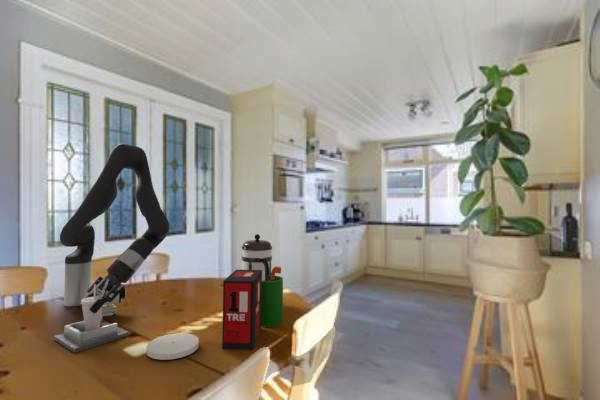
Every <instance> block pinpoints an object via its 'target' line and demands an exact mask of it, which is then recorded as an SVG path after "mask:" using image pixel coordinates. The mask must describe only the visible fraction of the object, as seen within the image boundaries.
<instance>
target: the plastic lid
mask: <svg viewBox="0 0 600 400" xmlns="http://www.w3.org/2000/svg"><path fill="white" fill-rule="evenodd" d="M199 346H200V339H199V337H198V336H197V335H195V334H193V333H186V332H179V333H169V334H165V335H161V336H158V337H156V338H154V339H152V340H151V341H149V342H148V343H147V345H146V356H148V357H149V358H151V359H155V360H160V361H164V360H165V361H166V360H168V361H169V360H176V359H179V358H184V357H186V356H189V355H191V354H193V353H195V352H196V351H197V350H198V349H199Z"/></svg>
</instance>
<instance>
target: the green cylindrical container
mask: <svg viewBox="0 0 600 400" xmlns="http://www.w3.org/2000/svg"><path fill="white" fill-rule="evenodd" d="M276 274H282V267H281V266H274V267H273V268H271V276H267V280H264V281H262V302H261V326H266V327H265V328H270V327H269V326H274V327H276V325H278V326H280V325H282V324H283V323H282V322H284V278H283V277H282V276H281V275H276ZM281 323H282V324H281ZM279 324H280V325H279Z"/></svg>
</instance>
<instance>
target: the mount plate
mask: <svg viewBox="0 0 600 400" xmlns="http://www.w3.org/2000/svg"><path fill="white" fill-rule="evenodd" d="M126 337H129V331H127V330H126V329H123V328H121V327H119V326H118V323H117V322H113V323H109V322H108V321H104V322H103V317H102V316H101V321H100V327H99V328H96V329H92V330H89V331H85V324H84V320H81V321H77V322H74V323H70V324H69V323H68V324H66V325H64V330H63V333H59V334H56V335H54V336H53V340H54V341H55V342H56V343H58V344H60V345H61V346H63V347H64V348H65V349H67V350H69V351H70V352H72V353H74V354H77V353H80V352H82V351H86V350H89V349H92V348H95V347H98V346H102V345H104V344H107V343H110V342H113V341H116V340H120V339H123V338H126Z"/></svg>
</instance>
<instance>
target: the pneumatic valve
mask: <svg viewBox="0 0 600 400" xmlns="http://www.w3.org/2000/svg"><path fill="white" fill-rule="evenodd" d="M116 291H117V290H116ZM97 293H98V292H97ZM113 295H114V294H113ZM99 296H101V295H99ZM110 298H111V297H110ZM126 298H127V287H126V286H125V288H124V289H123V290H122V291H121V292H120V293H119V294H118V295H117V296H116V297H115V298H114V300H113V301H112V302H107V303H104V304H103V308H102V315H101V316H102V318H104V317H112V316H114V314H116V312H117V306H115V304H120V303H122V301H123V300H124V299H125V300H126Z"/></svg>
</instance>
